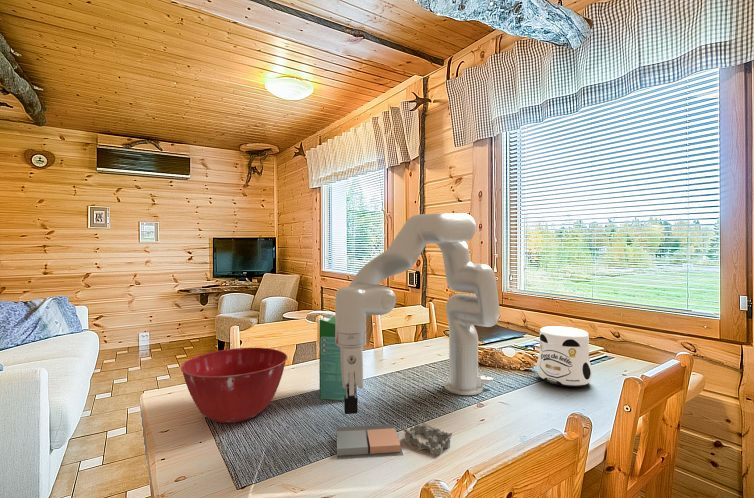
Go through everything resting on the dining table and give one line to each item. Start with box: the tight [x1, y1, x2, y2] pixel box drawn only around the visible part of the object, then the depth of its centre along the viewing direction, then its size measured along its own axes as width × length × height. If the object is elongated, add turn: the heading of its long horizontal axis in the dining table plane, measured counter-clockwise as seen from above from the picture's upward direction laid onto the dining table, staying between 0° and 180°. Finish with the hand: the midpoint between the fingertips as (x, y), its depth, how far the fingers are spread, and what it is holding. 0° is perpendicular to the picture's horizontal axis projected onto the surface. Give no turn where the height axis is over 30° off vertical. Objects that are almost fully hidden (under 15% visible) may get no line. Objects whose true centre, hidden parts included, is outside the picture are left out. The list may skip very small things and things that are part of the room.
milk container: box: [536, 325, 593, 388], centre depth 134 cm, size 17×17×18 cm
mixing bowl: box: [180, 347, 288, 424], centre depth 110 cm, size 28×28×15 cm
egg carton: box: [402, 422, 453, 455], centre depth 92 cm, size 11×8×4 cm
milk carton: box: [318, 314, 345, 402], centre depth 123 cm, size 9×9×25 cm
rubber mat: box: [336, 423, 404, 460], centre depth 93 cm, size 15×15×1 cm
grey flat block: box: [336, 430, 368, 457], centre depth 90 cm, size 7×2×8 cm
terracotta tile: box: [367, 427, 401, 454], centre depth 91 cm, size 7×2×8 cm
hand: (350, 412), depth 94 cm, fingers closed
